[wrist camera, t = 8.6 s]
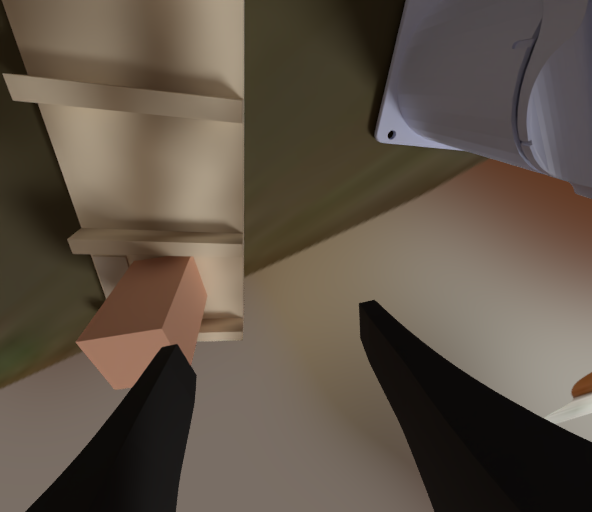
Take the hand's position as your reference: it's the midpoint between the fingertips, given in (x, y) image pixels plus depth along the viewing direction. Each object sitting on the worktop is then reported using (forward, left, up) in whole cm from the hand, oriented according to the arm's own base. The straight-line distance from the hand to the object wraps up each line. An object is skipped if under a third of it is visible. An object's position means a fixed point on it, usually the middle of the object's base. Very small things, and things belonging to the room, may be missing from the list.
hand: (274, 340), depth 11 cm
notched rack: (+7, -3, -10) cm, 13 cm away
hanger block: (+7, +4, -9) cm, 12 cm away
